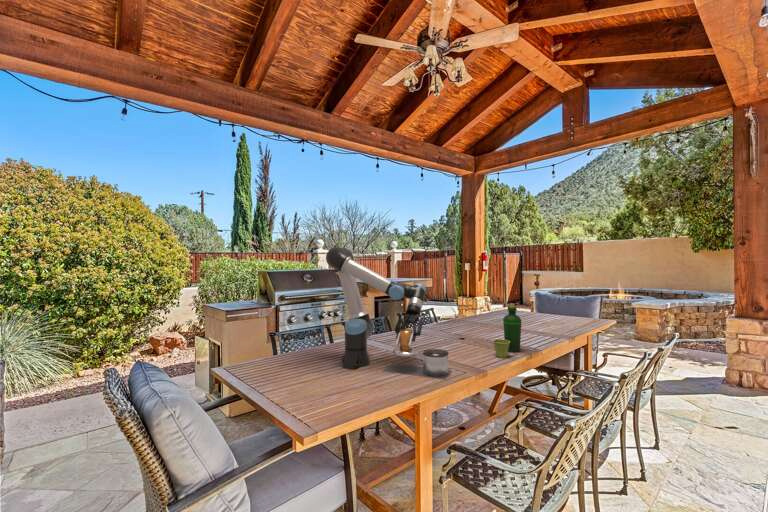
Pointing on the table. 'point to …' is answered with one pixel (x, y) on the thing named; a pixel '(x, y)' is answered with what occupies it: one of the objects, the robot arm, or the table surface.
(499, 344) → the plant pot
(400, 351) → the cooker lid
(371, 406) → the table surface
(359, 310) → the robot arm
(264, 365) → the table surface
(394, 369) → the stove mat
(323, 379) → the table surface
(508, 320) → the bottle
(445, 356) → the cylinder
